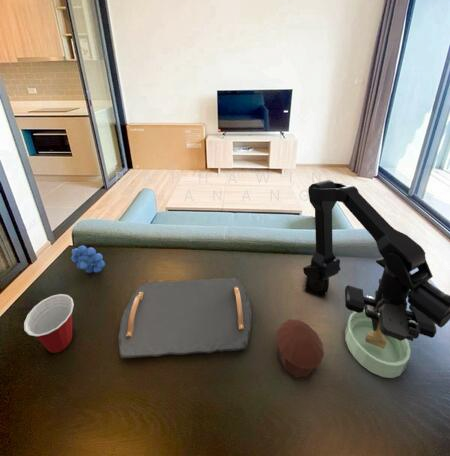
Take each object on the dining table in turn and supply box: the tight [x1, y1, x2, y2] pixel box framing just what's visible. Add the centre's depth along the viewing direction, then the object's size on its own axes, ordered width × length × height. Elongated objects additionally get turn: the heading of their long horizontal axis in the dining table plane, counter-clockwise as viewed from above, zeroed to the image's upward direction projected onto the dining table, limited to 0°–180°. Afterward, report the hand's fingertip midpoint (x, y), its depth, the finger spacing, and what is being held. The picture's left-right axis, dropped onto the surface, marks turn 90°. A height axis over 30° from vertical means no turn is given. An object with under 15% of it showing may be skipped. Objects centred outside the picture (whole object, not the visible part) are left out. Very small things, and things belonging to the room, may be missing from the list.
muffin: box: [276, 318, 325, 379], centre depth 63 cm, size 12×11×10 cm
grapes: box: [70, 245, 106, 274], centre depth 88 cm, size 12×7×12 cm, turn 88°
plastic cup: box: [23, 293, 75, 354], centre depth 66 cm, size 11×11×12 cm
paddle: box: [365, 319, 387, 349], centre depth 64 cm, size 4×2×11 cm, turn 67°
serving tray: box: [117, 277, 253, 359], centre depth 73 cm, size 39×23×6 cm, turn 94°
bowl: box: [344, 308, 411, 379], centre depth 66 cm, size 14×14×6 cm
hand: (378, 331), depth 64 cm, fingers closed on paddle, 2 cm apart
